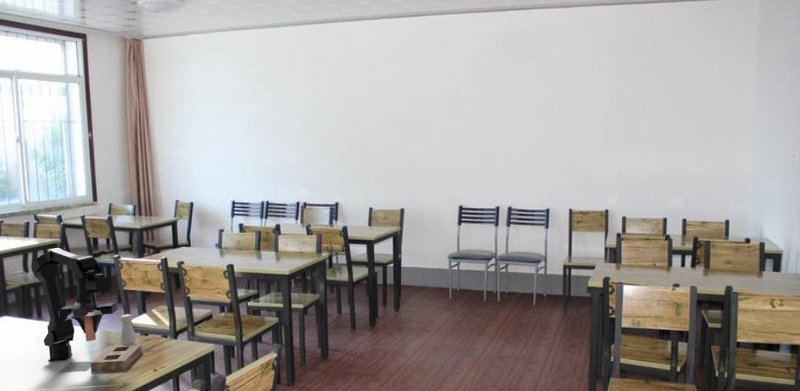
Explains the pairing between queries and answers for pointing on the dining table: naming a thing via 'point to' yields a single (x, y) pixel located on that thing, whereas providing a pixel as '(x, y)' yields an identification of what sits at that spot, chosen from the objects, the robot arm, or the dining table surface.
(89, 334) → the peg
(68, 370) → the mat
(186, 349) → the dining table surface
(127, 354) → the socket block
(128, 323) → the salt shaker
